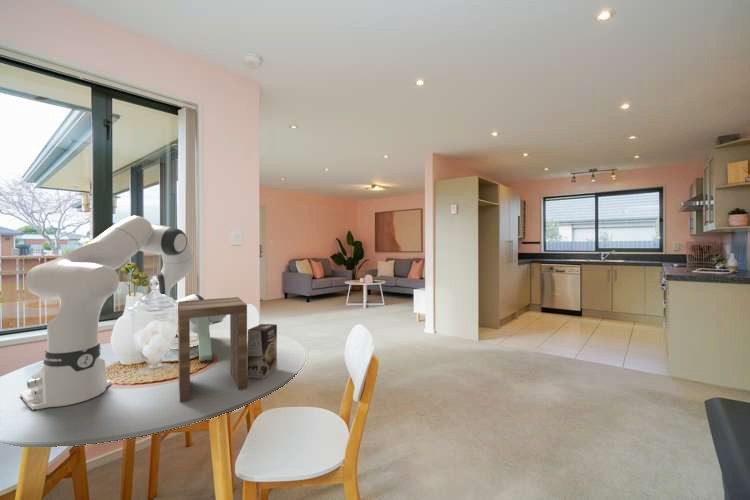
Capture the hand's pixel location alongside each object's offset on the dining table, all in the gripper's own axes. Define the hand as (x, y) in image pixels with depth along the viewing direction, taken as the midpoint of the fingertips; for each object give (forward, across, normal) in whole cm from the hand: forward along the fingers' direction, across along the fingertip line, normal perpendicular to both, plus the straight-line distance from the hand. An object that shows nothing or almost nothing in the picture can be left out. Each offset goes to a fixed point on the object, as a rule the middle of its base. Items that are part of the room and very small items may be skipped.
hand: (202, 305), depth 135 cm
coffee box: (+18, +16, +33) cm, 41 cm away
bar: (-7, 0, +9) cm, 11 cm away
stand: (+20, 0, +34) cm, 39 cm away
